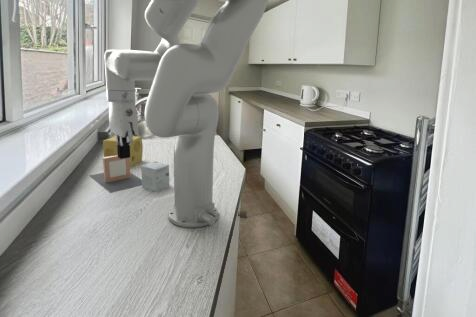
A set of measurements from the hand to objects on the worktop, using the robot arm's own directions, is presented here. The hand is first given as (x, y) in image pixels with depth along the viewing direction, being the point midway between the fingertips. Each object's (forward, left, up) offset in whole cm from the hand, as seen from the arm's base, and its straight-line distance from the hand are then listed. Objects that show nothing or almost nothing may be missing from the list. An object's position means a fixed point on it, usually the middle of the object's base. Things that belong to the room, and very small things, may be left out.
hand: (124, 157), depth 92 cm
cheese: (+22, -9, -10) cm, 26 cm away
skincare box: (-6, -7, -10) cm, 13 cm away
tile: (+6, 0, -9) cm, 11 cm away
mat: (+6, 0, -10) cm, 11 cm away
